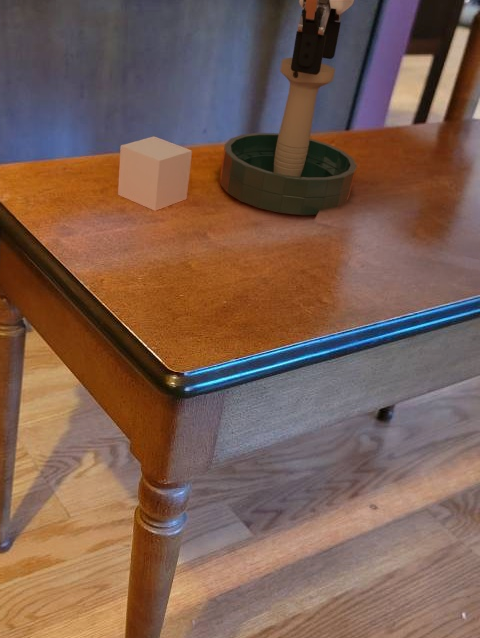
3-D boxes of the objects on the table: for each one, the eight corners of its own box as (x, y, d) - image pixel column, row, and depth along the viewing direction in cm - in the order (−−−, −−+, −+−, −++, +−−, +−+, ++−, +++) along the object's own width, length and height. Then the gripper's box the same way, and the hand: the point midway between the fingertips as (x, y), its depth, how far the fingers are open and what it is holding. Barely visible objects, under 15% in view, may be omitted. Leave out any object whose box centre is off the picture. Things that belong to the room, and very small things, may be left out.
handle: (274, 177, 99) (297, 56, 90) (314, 192, 96) (342, 69, 87) (253, 184, 96) (274, 60, 87) (293, 201, 93) (320, 74, 84)
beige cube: (117, 195, 90) (120, 145, 86) (149, 184, 94) (153, 136, 90) (155, 211, 87) (159, 160, 84) (186, 199, 91) (192, 150, 88)
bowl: (355, 186, 101) (364, 150, 98) (335, 231, 88) (345, 190, 85) (238, 160, 104) (244, 124, 101) (203, 199, 91) (208, 159, 88)
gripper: (370, -110, 69) (332, 85, 79) (390, -111, 82) (355, 56, 92) (291, -119, 70) (264, 73, 81) (323, -118, 84) (296, 47, 94)
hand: (313, 64), depth 86 cm, fingers open, 9 cm apart
